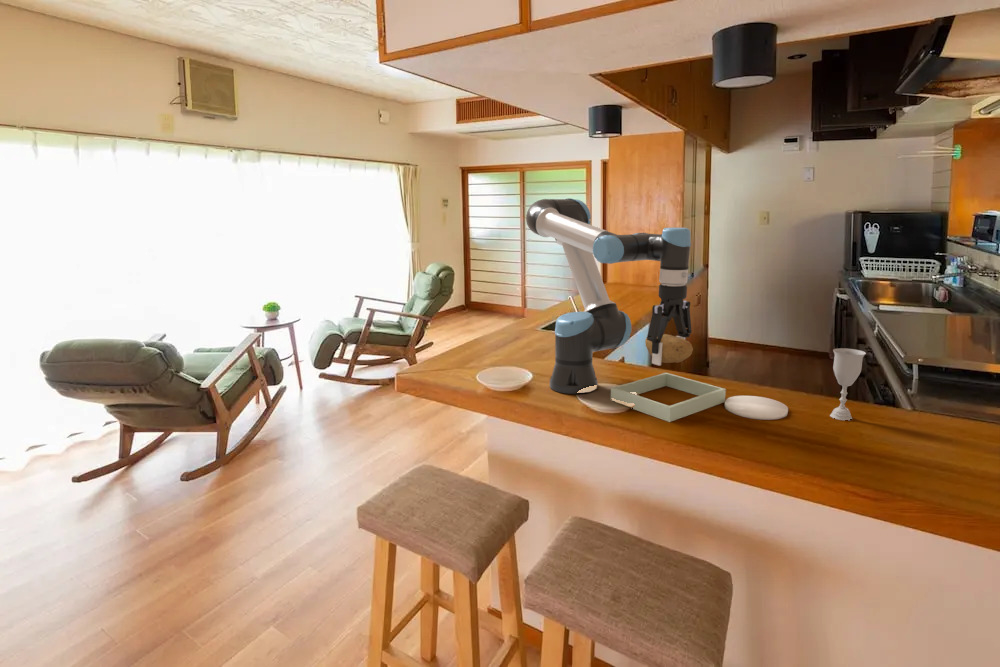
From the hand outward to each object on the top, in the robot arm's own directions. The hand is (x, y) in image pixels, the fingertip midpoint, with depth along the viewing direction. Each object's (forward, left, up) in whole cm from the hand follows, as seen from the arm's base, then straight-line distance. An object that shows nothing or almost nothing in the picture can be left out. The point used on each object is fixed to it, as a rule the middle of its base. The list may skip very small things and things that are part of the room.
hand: (667, 361), depth 158 cm
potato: (0, 0, 0) cm, 1 cm away
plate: (+19, +14, -12) cm, 27 cm away
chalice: (+36, +26, -12) cm, 46 cm away
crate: (0, 0, -12) cm, 12 cm away
